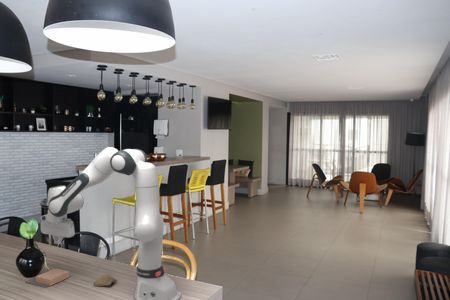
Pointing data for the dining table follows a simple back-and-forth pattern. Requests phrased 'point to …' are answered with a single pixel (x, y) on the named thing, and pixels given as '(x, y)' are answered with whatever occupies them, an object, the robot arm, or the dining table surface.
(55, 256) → the dining table surface
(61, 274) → the tile
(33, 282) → the mat
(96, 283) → the pottery shard
